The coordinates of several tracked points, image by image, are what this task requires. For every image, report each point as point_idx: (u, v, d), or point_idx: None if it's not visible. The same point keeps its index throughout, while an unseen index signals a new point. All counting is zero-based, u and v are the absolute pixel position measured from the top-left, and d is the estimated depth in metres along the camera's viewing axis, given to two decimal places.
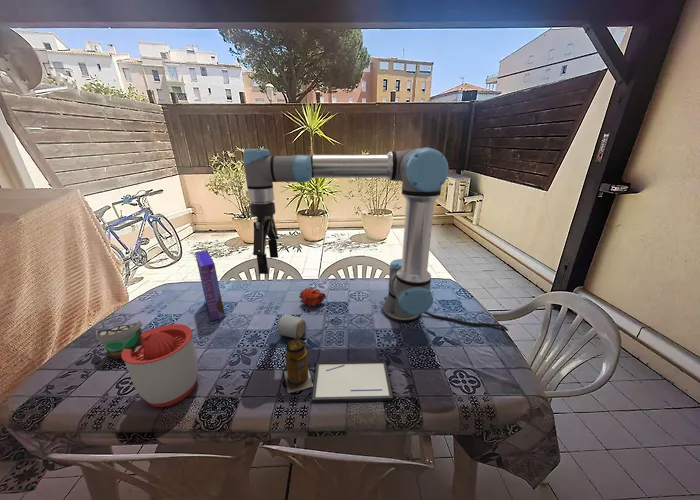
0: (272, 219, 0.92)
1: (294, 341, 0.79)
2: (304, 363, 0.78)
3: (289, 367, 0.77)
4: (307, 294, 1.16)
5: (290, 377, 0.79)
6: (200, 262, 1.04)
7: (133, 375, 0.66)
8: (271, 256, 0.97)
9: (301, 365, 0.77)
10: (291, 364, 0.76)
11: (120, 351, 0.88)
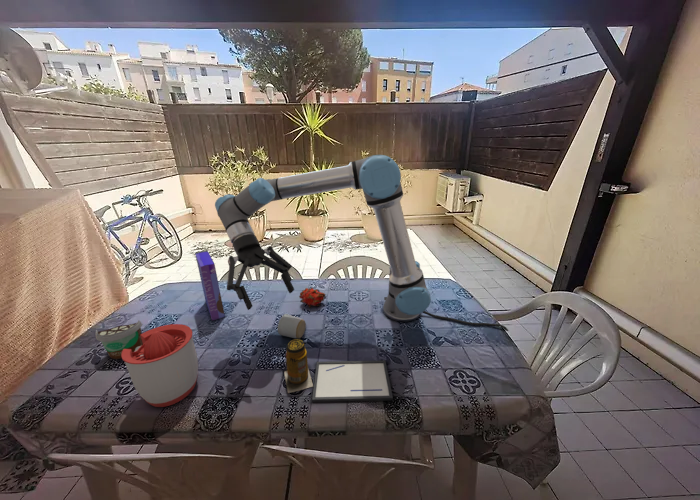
0: (271, 252, 0.86)
1: (294, 341, 0.79)
2: (304, 363, 0.78)
3: (289, 367, 0.77)
4: (307, 294, 1.16)
5: (290, 377, 0.79)
6: (200, 262, 1.04)
7: (133, 375, 0.66)
8: (289, 291, 0.85)
9: (301, 365, 0.77)
10: (291, 364, 0.76)
11: (120, 351, 0.88)
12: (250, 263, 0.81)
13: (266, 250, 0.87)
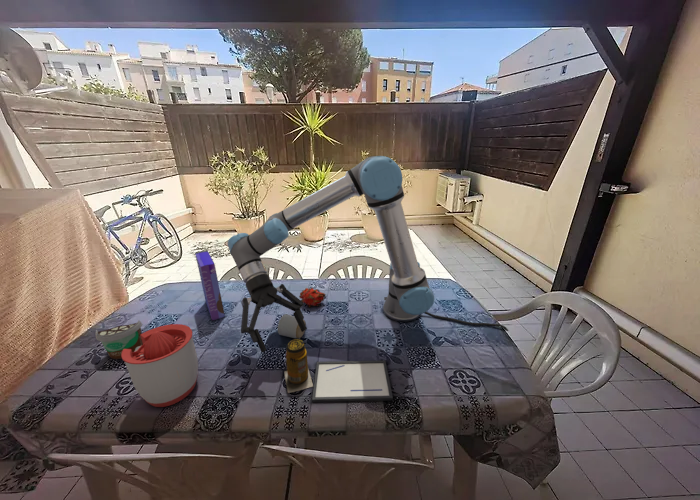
0: (283, 290, 0.87)
1: (294, 341, 0.79)
2: (304, 363, 0.78)
3: (289, 367, 0.77)
4: (307, 294, 1.16)
5: (290, 377, 0.79)
6: (200, 262, 1.04)
7: (133, 375, 0.66)
8: (301, 330, 0.85)
9: (301, 365, 0.77)
10: (291, 364, 0.76)
11: (120, 351, 0.88)
12: (263, 304, 0.82)
13: (278, 288, 0.87)
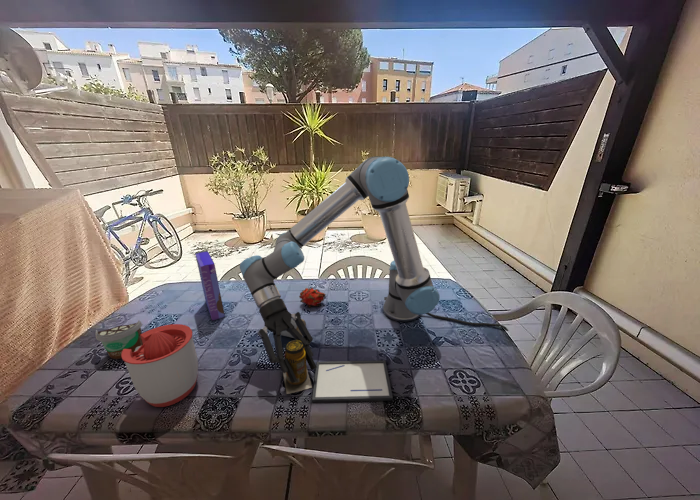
0: (297, 319, 0.83)
1: (293, 342, 0.79)
2: (303, 364, 0.78)
3: None
4: (307, 294, 1.16)
5: (289, 378, 0.78)
6: (200, 262, 1.04)
7: (133, 375, 0.66)
8: (311, 368, 0.80)
9: (300, 366, 0.77)
10: (290, 365, 0.76)
11: (120, 351, 0.88)
12: None
13: (293, 315, 0.84)
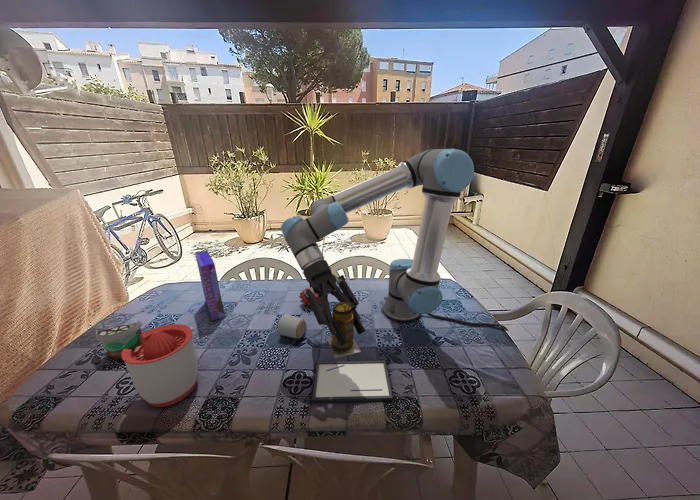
0: (342, 282, 0.79)
1: (340, 304, 0.74)
2: (351, 326, 0.74)
3: None
4: None
5: (336, 342, 0.74)
6: (200, 262, 1.04)
7: (133, 375, 0.66)
8: (358, 332, 0.76)
9: (348, 328, 0.73)
10: None
11: (120, 351, 0.88)
12: None
13: (338, 278, 0.80)
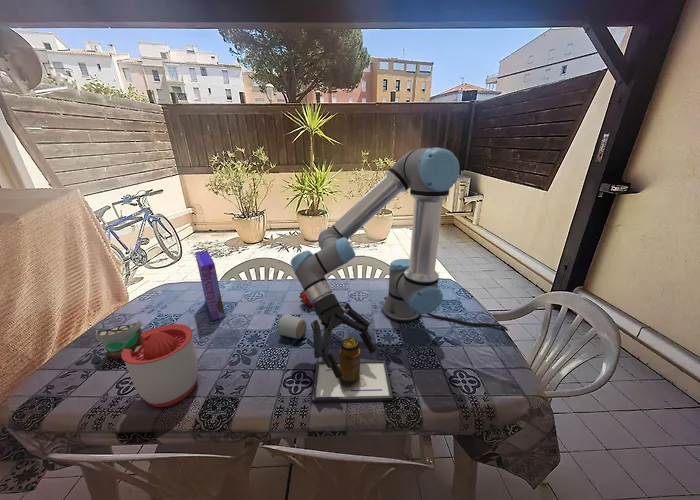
0: (349, 310, 0.83)
1: (347, 339, 0.79)
2: (358, 361, 0.78)
3: (343, 365, 0.77)
4: None
5: (343, 375, 0.78)
6: (200, 262, 1.04)
7: (133, 375, 0.66)
8: (370, 352, 0.82)
9: (355, 363, 0.77)
10: (346, 363, 0.76)
11: (120, 351, 0.88)
12: (333, 326, 0.78)
13: (344, 308, 0.84)
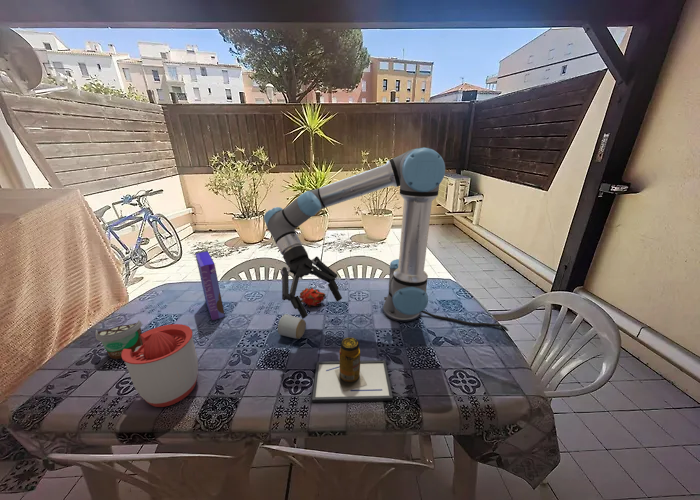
0: (318, 262, 0.90)
1: (347, 339, 0.79)
2: (358, 361, 0.78)
3: (343, 365, 0.77)
4: (307, 294, 1.16)
5: (343, 375, 0.78)
6: (200, 262, 1.04)
7: (133, 375, 0.66)
8: (336, 300, 0.89)
9: (355, 363, 0.77)
10: (346, 363, 0.76)
11: (120, 351, 0.88)
12: (301, 273, 0.85)
13: (313, 260, 0.90)
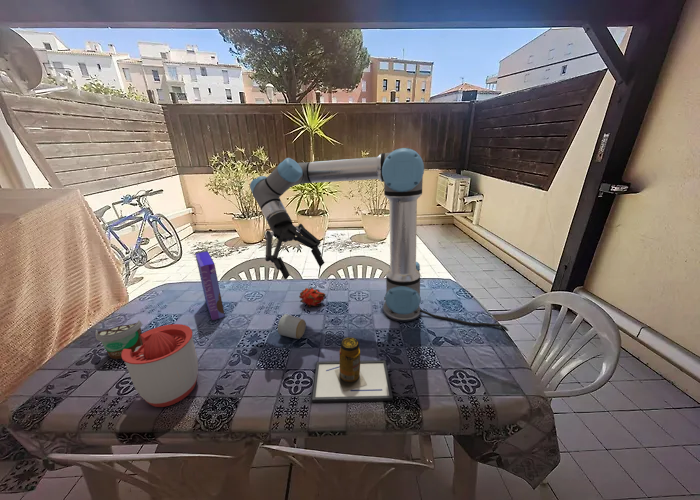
0: (302, 229, 0.94)
1: (347, 339, 0.79)
2: (358, 361, 0.78)
3: (343, 365, 0.77)
4: (307, 294, 1.16)
5: (343, 375, 0.78)
6: (200, 262, 1.04)
7: (133, 375, 0.66)
8: (319, 265, 0.92)
9: (355, 363, 0.77)
10: (346, 363, 0.76)
11: (120, 351, 0.88)
12: (285, 238, 0.89)
13: (297, 227, 0.94)
